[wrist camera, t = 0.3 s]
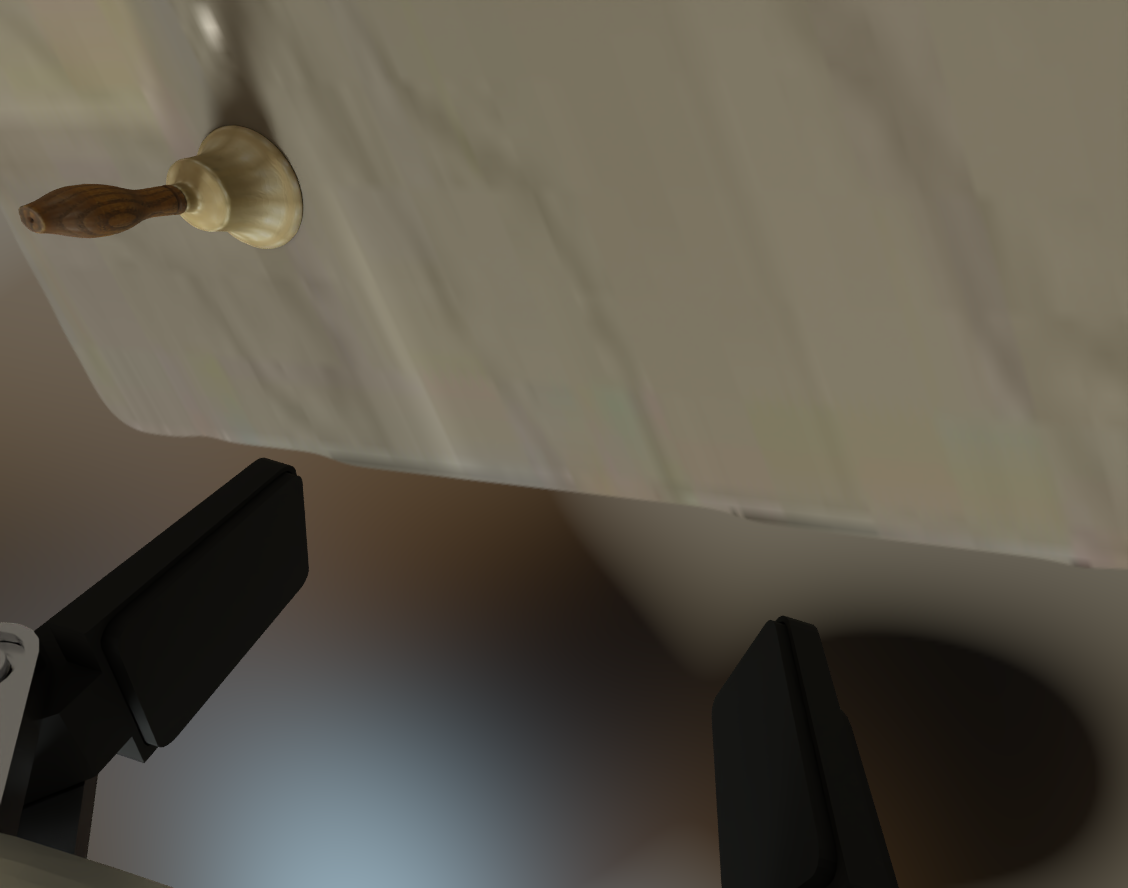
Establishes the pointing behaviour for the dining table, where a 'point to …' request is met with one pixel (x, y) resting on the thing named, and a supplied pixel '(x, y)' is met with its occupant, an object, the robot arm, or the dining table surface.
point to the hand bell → (189, 196)
